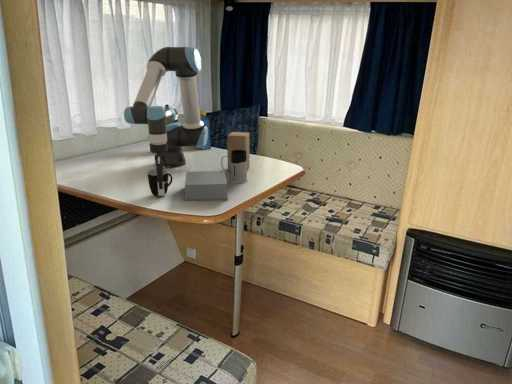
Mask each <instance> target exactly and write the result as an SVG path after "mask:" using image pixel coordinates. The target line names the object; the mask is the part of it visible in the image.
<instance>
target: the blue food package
mask: <svg viewBox="0 0 512 384" xmlns="http://www.w3.org/2000/svg"><path fill="white" fill-rule="evenodd" d="M199 110H200V120H201V121H203V123H204V127H205V126H206V127H207V128H208V138H207V142H206V145H205V146H204V147H198V148H197V149H199V150H203V151H205V150H210V149H212V147H211V146H212V143H211V142H212V140H211V120H210V118H209V117H208V116H207V111H206V110H202V109H199Z"/></svg>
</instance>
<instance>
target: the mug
mask: <svg viewBox="0 0 512 384" xmlns="http://www.w3.org/2000/svg"><path fill="white" fill-rule="evenodd" d="M146 174H147V182H148V185H149V189H150V192H151V194H152V195H153V196H156V197H159V196H158V184H157V182H156V181H157V170H156V168H155V169H150V170H149V171H147V173H146ZM169 178H170V179H169ZM163 180H164V191H165V195H167V193H168V189H169V186H171V184H172V183H173V176H172V174H171V173H170V172H169V171H168V170H167V169H165V168H164V169H163Z"/></svg>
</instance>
